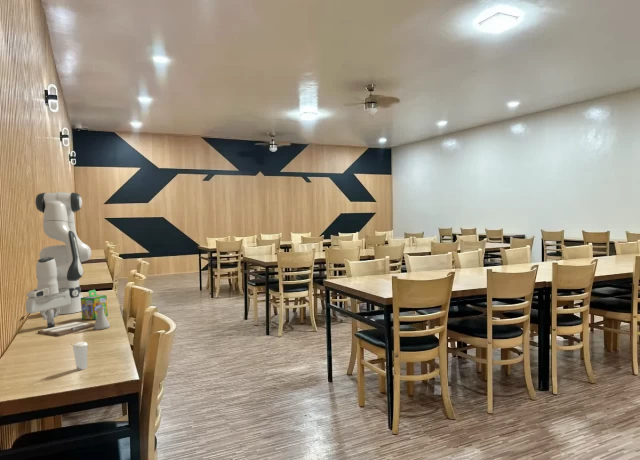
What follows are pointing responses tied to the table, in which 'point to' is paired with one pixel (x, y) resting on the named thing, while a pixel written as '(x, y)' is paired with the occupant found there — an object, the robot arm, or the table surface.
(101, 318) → the flask
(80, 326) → the clipboard
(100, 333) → the table surface
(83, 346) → the milkshake
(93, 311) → the chalk box
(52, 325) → the marker
